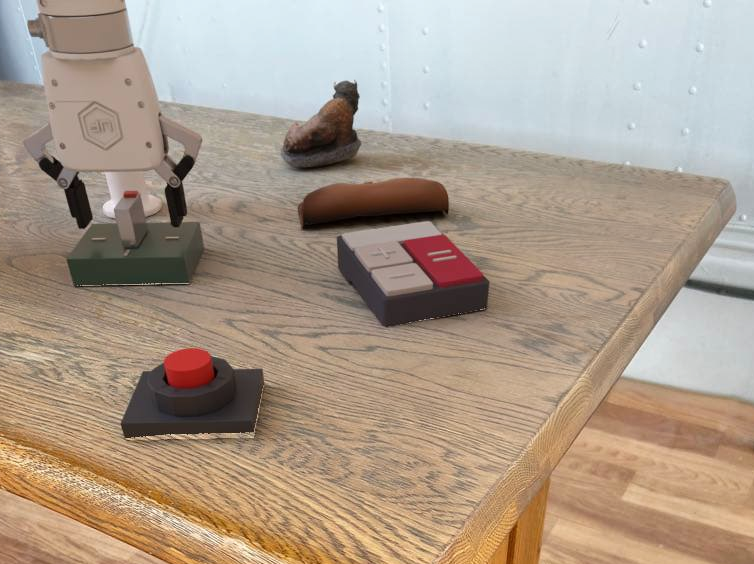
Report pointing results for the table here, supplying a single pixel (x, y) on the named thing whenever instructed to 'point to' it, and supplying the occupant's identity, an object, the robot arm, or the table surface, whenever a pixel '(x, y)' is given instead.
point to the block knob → (131, 219)
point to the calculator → (410, 273)
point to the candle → (129, 182)
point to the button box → (194, 403)
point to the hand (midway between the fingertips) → (132, 223)
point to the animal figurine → (325, 132)
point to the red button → (189, 368)
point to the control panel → (137, 255)
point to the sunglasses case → (372, 200)
